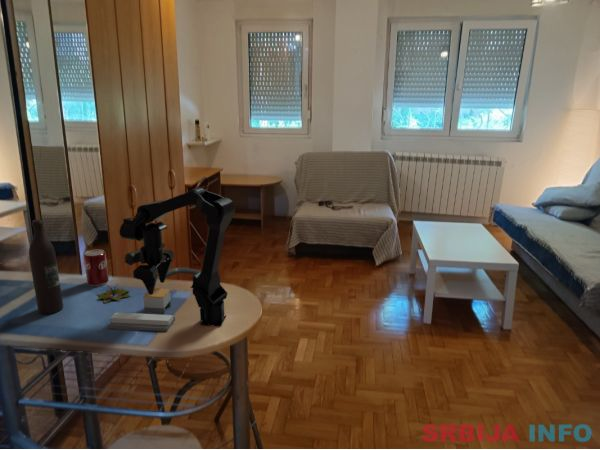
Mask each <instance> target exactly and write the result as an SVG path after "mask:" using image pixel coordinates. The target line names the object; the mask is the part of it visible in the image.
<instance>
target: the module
mask: <svg viewBox="0 0 600 450" xmlns="http://www.w3.org/2000/svg"><path fill="white" fill-rule="evenodd" d="M171 299H172V298H171V289H170V288H157V287H155V289H154V292H153V294H152V295H150V294H149V293H148V291H146V293H144V295H143V305H144V314H157V315H166V313H167V312H166V307H171V306H172V300H171Z"/></svg>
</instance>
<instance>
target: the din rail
mask: <svg viewBox="0 0 600 450" xmlns="http://www.w3.org/2000/svg"><path fill="white" fill-rule="evenodd" d="M175 322H176V316H174V315H173V314H172V315H171V314H158V313H135V312H134V313H133V312H115V313H114V314H113V315H112V316H111V317H110V322H109V323H108V324H107V328H108V329H115V330H118V329H119V330H133V331H134V330H137V331H156V332H168V331H169V329H170V328H171V326H172V325H173V324H174V323H175Z"/></svg>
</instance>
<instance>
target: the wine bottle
mask: <svg viewBox="0 0 600 450" xmlns="http://www.w3.org/2000/svg"><path fill="white" fill-rule="evenodd" d="M43 223H44V222H43V220H42V219H33V220H32V222H31V227H32V228H33V229H32V230H33V237H32V240H31V242H30V245H29V249H28V255H29V256H28V257H29V263H30V269H31V274H32V282H33V287H34V294H35V299H36V305H37V311H38V312H39V314H41V315H51V314H56V313H58V312H59V311H62V310H63V309H64V302H63V297H62V289H61V283H60V275H59V269H58V263H57V256H56V251H55V248H54V245H53V244H52V242H51V241H50V240H49V239H48V237H47V236H46V234H45V232H44V228H43V227H44V226H43V225H44V224H43Z"/></svg>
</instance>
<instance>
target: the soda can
mask: <svg viewBox="0 0 600 450" xmlns="http://www.w3.org/2000/svg"><path fill="white" fill-rule="evenodd" d="M106 254H107V253H106V251H104V249H90V250H88V251H85V252H84V253H83V260H84V268H85V275H86V278H85V279H86V284H87V285H88V286H90V287H101V286H104V285H107V283H108V282H109V280H110V279H109V272H108V270H109V269H108V263H107V255H106Z"/></svg>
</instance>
